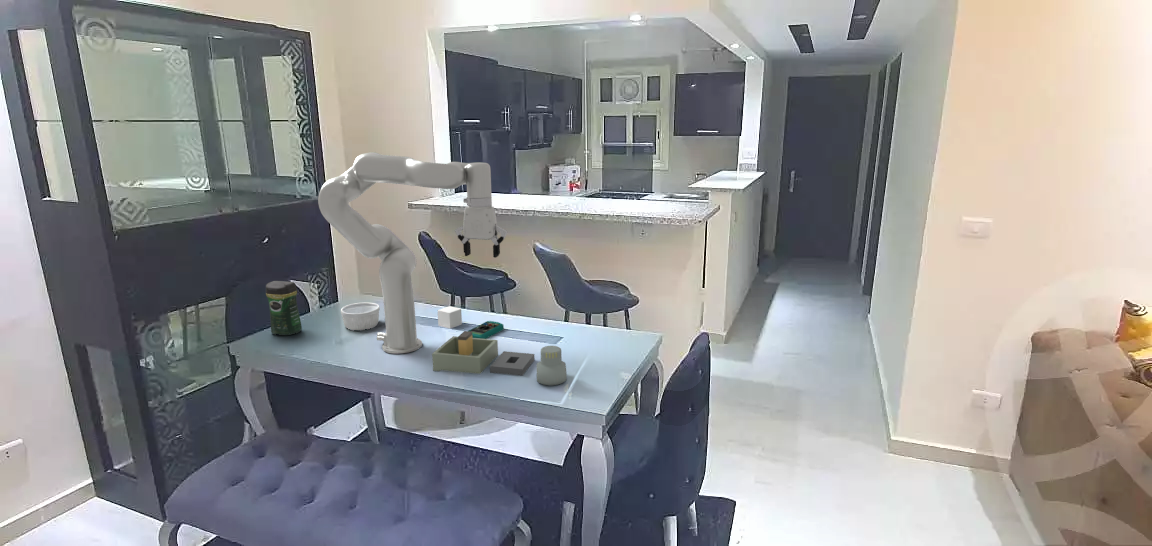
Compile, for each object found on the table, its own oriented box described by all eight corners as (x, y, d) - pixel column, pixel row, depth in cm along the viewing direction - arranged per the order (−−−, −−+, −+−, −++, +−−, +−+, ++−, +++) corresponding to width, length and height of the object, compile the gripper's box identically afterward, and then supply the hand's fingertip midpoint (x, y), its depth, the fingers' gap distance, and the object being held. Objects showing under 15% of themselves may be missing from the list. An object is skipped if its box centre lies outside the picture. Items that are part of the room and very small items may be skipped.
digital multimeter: (505, 330, 218) (504, 322, 217) (480, 343, 205) (480, 335, 204) (488, 327, 221) (487, 319, 220) (463, 340, 208) (462, 332, 207)
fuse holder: (490, 374, 179) (489, 366, 179) (503, 358, 191) (503, 351, 190) (522, 377, 177) (522, 369, 177) (534, 361, 189) (534, 353, 188)
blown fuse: (459, 364, 185) (458, 336, 183) (465, 358, 190) (464, 331, 188) (467, 365, 185) (465, 337, 182) (473, 358, 189) (472, 331, 187)
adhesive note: (438, 325, 221) (437, 310, 220) (450, 321, 226) (449, 306, 224) (450, 329, 218) (449, 313, 216) (462, 324, 223) (461, 308, 221)
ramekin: (373, 332, 215) (371, 313, 213) (336, 332, 215) (334, 313, 213) (385, 320, 227) (384, 302, 226) (350, 319, 228) (349, 302, 226)
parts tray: (433, 370, 182) (432, 353, 180) (454, 352, 196) (453, 336, 195) (480, 375, 179) (479, 357, 177) (498, 356, 193) (497, 339, 191)
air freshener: (567, 389, 169) (566, 355, 167) (537, 390, 169) (536, 356, 166) (564, 373, 180) (564, 341, 177) (536, 374, 179) (536, 342, 177)
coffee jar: (306, 329, 217) (300, 279, 213) (290, 337, 210) (284, 285, 205) (283, 327, 220) (276, 277, 215) (267, 334, 212) (260, 283, 208)
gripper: (448, 203, 189) (451, 257, 193) (501, 205, 185) (503, 259, 189) (458, 200, 196) (461, 252, 200) (509, 201, 192) (511, 254, 196)
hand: (481, 255), depth 195 cm, fingers open, 9 cm apart
